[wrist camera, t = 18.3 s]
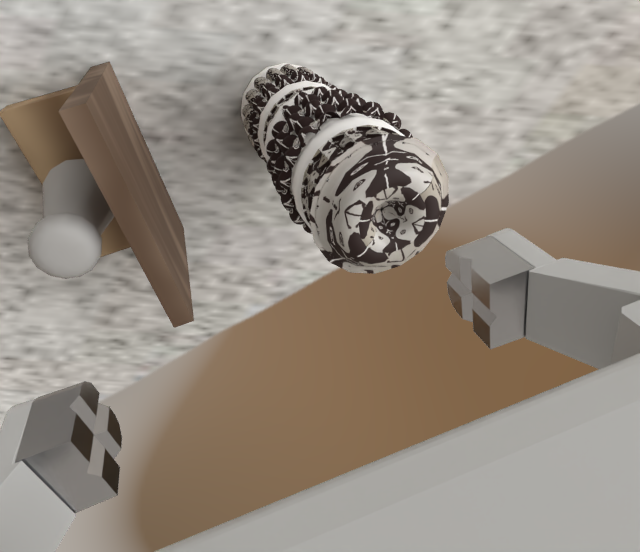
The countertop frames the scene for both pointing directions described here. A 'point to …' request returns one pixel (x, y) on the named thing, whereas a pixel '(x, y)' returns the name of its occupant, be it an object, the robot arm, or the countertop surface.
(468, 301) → the robot arm
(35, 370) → the countertop surface
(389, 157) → the decorative candle
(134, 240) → the cleat board
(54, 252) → the salt shaker
